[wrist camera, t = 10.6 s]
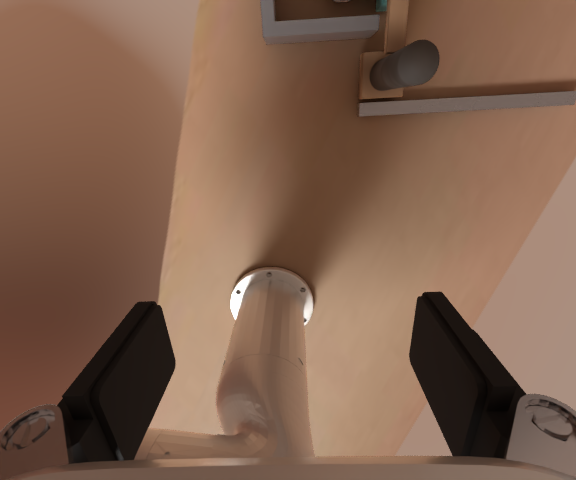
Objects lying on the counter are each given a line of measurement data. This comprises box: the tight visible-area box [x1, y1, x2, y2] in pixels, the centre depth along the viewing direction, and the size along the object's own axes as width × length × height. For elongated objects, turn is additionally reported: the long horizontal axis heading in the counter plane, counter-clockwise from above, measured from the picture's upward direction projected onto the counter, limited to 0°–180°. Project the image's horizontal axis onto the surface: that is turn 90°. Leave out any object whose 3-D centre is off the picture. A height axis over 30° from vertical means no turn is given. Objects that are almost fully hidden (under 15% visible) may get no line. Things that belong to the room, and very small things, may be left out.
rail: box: [357, 91, 576, 116], centre depth 35 cm, size 1×24×1 cm, turn 93°
